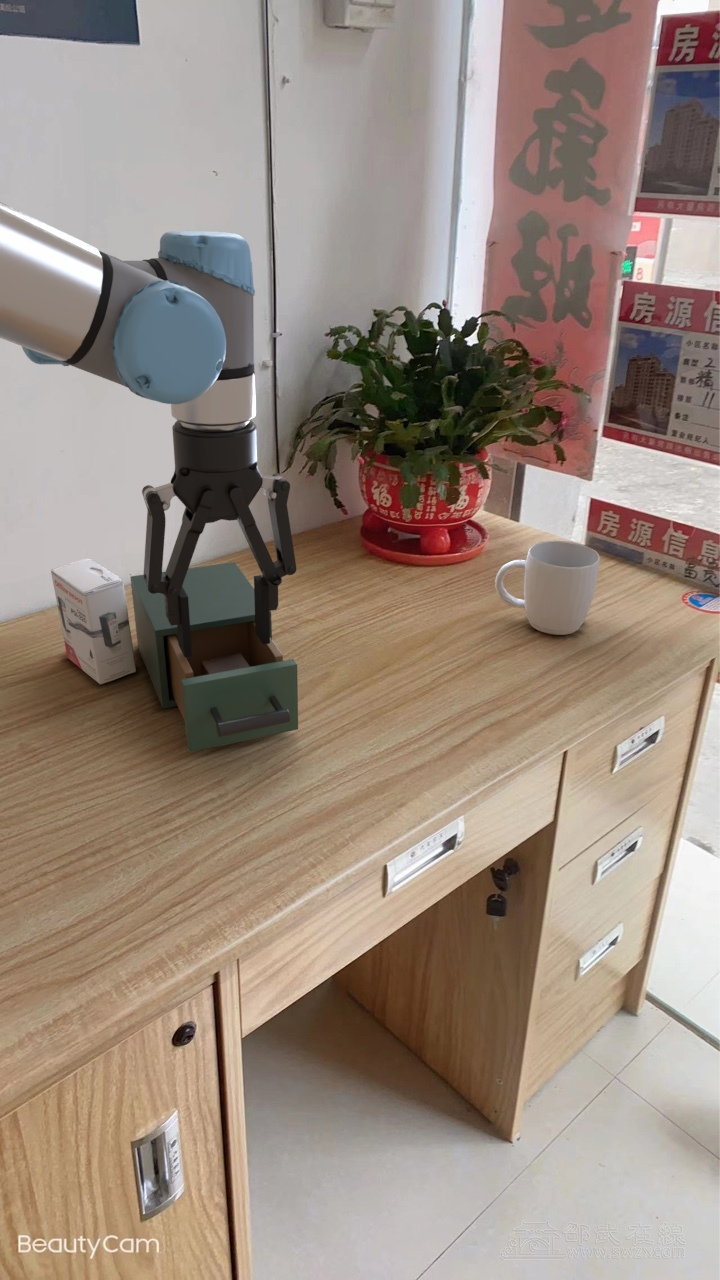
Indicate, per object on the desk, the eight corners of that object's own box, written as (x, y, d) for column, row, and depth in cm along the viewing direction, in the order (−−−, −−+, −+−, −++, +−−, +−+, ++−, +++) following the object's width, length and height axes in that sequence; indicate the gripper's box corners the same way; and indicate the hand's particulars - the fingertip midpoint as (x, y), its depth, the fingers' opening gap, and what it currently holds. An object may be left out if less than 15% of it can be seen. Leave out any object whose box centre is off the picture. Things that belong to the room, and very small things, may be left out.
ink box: (63, 658, 105) (48, 566, 99) (101, 645, 108) (89, 555, 102) (98, 687, 99) (85, 592, 94) (138, 672, 102) (127, 579, 97)
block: (215, 717, 91) (213, 680, 89) (203, 696, 94) (200, 660, 92) (256, 708, 93) (254, 672, 91) (242, 688, 96) (240, 652, 94)
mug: (592, 615, 118) (603, 545, 113) (585, 645, 111) (597, 572, 106) (498, 600, 121) (505, 532, 117) (485, 629, 114) (492, 557, 109)
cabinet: (273, 687, 100) (271, 611, 96) (162, 708, 96) (154, 630, 91) (238, 631, 112) (234, 561, 107) (138, 648, 108) (130, 576, 103)
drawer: (312, 751, 88) (312, 684, 84) (199, 776, 84) (194, 707, 80) (260, 668, 102) (257, 607, 98) (161, 686, 98) (155, 624, 94)
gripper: (306, 404, 86) (305, 614, 97) (92, 417, 79) (117, 643, 90) (334, 422, 80) (330, 645, 91) (105, 439, 73) (130, 678, 83)
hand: (224, 643), depth 90 cm, fingers open, 7 cm apart
